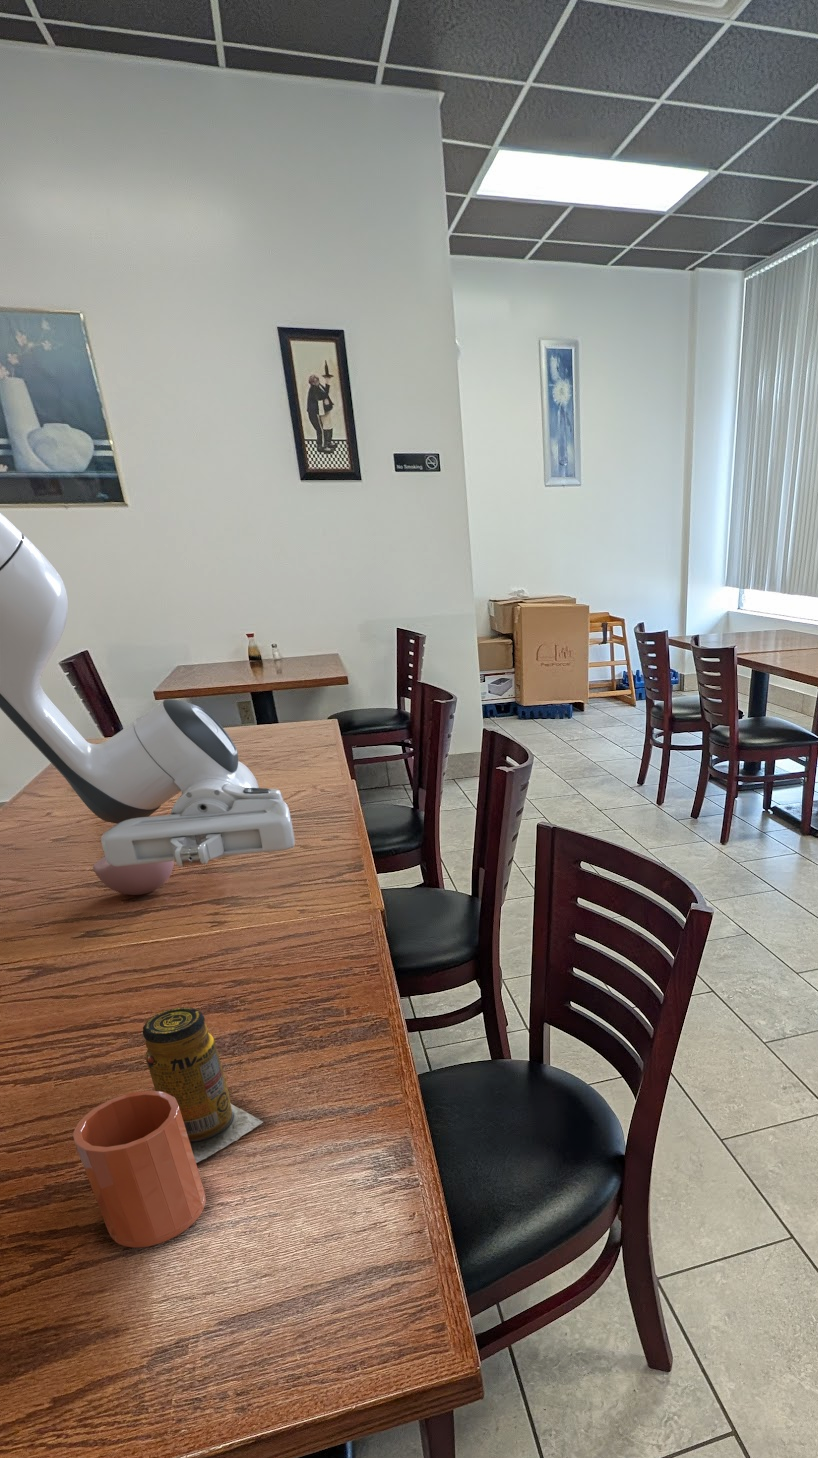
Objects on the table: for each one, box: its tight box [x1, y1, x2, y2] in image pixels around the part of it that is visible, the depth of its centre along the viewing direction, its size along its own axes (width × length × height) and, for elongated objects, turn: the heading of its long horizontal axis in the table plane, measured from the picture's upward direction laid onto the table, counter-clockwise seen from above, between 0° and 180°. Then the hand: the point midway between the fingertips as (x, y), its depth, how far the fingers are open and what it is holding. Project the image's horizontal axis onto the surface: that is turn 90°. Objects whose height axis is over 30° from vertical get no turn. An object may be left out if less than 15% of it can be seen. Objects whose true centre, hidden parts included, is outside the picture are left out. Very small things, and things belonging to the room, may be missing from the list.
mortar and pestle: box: [92, 855, 175, 896], centre depth 134 cm, size 12×12×11 cm
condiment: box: [142, 1007, 264, 1164], centre depth 77 cm, size 7×8×12 cm
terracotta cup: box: [72, 1089, 207, 1249], centre depth 68 cm, size 8×8×10 cm
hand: (190, 858), depth 87 cm, fingers closed
